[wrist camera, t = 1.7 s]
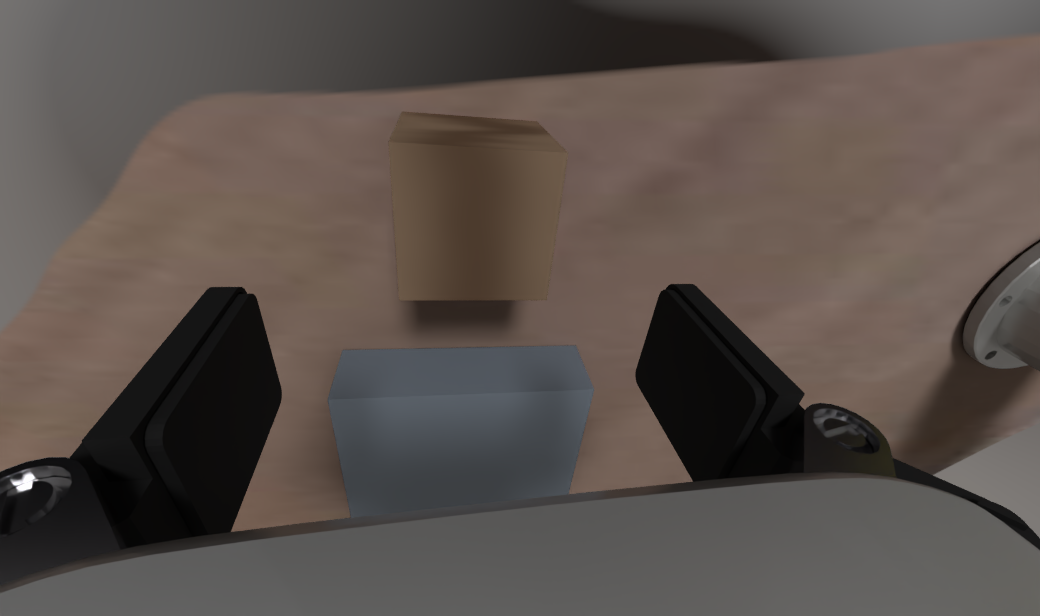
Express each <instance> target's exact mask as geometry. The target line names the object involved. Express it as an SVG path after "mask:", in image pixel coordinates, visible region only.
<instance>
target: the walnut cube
mask: <svg viewBox="0 0 1040 616" xmlns="http://www.w3.org/2000/svg"><path fill="white" fill-rule="evenodd" d="M389 157H390V172H391V187H392V202H393V216H394V231H395V246H396V261H397V276H398V291H399V300H547V295H548V288H549V281H550V274H551V267H552V260H553V254H554V247H555V240H556V233H557V226H558V219H559V212H560V205H561V199H562V192H563V185H564V178H565V171H566V164H567V157H568V152H567V151H566V150H565V149H564V148H563V147H562V146H561V145H560V144H559V143H558V142H557V141H556V140H555V139H554V138H553V137H552V136H551V135H550V134H549V133H548V132H547V131H546V130H545V129H544V128H543V127H542V126H541V125H540V124H539V123H538V122H537V121H523V120H509V119H496V118H482V117H468V116H454V115H441V114H427V113H413V112H402V113H401V116H400V118H399V120H398V122H397V124H396V127H395V129H394V131H393V133H392V135H391V138H390V140H389Z"/></svg>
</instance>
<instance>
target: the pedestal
mask: <svg viewBox="0 0 1040 616" xmlns="http://www.w3.org/2000/svg"><path fill="white" fill-rule="evenodd" d="M593 392H594V388H593V386H592V383H591V381H590V378H589V376H588V374H587V371H586V369H585V366H584V364H583V362H582V359H581V357H580V355H579V352H578V350H577V347H576V346H527V347H477V348H427V349H376V350H343V351H342V354H341V357H340V361H339V364H338V367H337V371H336V374H335V377H334V380H333V384H332V387H331V390H330V394H329V397H328V404H329V409H330V414H331V419H332V424H333V429H334V434H335V439H336V444H337V449H338V454H339V459H340V464H341V469H342V475H343V480H344V485H345V490H346V495H347V500H348V505H349V510H350V515H351V518H354V517H363V516H372V515H381V514H390V513H399V512H408V511H417V510H426V509H435V508H444V507H453V506H463V505H472V504H482V503H491V502H500V501H510V500H519V499H529V498H538V497H548V496H557V495H567V494H568V493H569V489H570V485H571V481H572V477H573V473H574V469H575V465H576V461H577V457H578V453H579V449H580V445H581V441H582V437H583V432H584V428H585V424H586V420H587V416H588V412H589V408H590V404H591V400H592V396H593Z"/></svg>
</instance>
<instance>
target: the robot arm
mask: <svg viewBox="0 0 1040 616" xmlns="http://www.w3.org/2000/svg"><path fill="white" fill-rule="evenodd" d="M963 346H964V348H965V350H966V352H967V354H968V355H970V356H971V357H972V358H973V359H975V360H977V361H978V362H980V363H982V364H984V365H985V366H987V367H991V368H996V369H1009V368H1017V367H1022V366H1027V365H1029V366H1031V367H1033V368H1035V369H1036V370H1038V371H1040V242H1039V243H1037V244H1036V245H1035V246H1033V247H1032V248H1030V249H1029V250H1028V251H1026V252H1025V253H1023V254H1022V255H1021V256H1020V257H1019V258H1017V259H1016V260H1015V261H1014V262H1013V263H1011V264H1010V265H1009V266H1008V267H1007V268H1006V269H1005V270H1004V271H1003V272H1002V273H1001V274H1000V275H999V276H998V277H997V278H996V279H995V280H994V281H993V282H992V283H991V284H990V285H989V286H988V288H987V289H986V290H985V291H984V293H983V294H982V295H981V296H980V298H979V299H978V301H977V302H976V304H975V305H974V307H973V309H972V310H971V312H970V314H969V316H968V319H967V321H966V323H965V327H964V332H963ZM636 382H637V384H638V386H639V388H640V390H641V392H642V393H643V395H644V397H645V399H646V400H647V402H648V404H649V405H650V407H651V409H652V411H653V412H654V414H655V416H656V418H657V419H658V421H659V423H660V425H661V426H662V428H663V430H664V432H665V433H666V435H667V437H668V438H669V440H670V442H671V444H672V445H673V447H674V449H675V451H676V452H677V454H678V456H679V458H680V459H681V461H682V463H683V465H684V466H685V468H686V470H687V471H688V473H689V475H690V477H691V478H692V480H693V482H686V483H676V484H666V485H656V486H646V487H635V488H625V489H615V490H605V491H596V492H586V493H577V494H567V495H557V496H548V497H538V498H529V499H519V500H510V501H500V502H491V503H482V504H472V505H463V506H453V507H444V508H435V509H426V510H417V511H408V512H399V513H390V514H381V515H372V516H363V517H354V518H344V519H335V520H326V521H317V522H308V523H300V524H292V525H284V526H276V527H268V528H260V529H252V530H244V531H236V532H231V530H232V527H233V524H234V522H235V519H236V517H237V514H238V512H239V509H240V506H241V504H242V501H243V499H244V496H245V494H246V491H247V488H248V486H249V483H250V481H251V478H252V476H253V473H254V470H255V468H256V465H257V463H258V460H259V458H260V455H261V452H262V450H263V447H264V445H265V442H266V440H267V437H268V434H269V432H270V429H271V427H272V424H273V422H274V419H275V417H276V414H277V411H278V409H279V406H280V403H281V398H282V390H281V385H280V382H279V378H278V374H277V371H276V367H275V363H274V360H273V356H272V353H271V349H270V345H269V342H268V338H267V334H266V331H265V327H264V323H263V320H262V316H261V312H260V309H259V305H258V301H257V299H256V296H255V295H254V294H247V292H246V291H245V289H244V288H242V287H210V288H209V289H207V290H206V292H205V293H204V294H203V295H202V296H201V298H200V299H199V300H198V301H197V302H196V304H195V305H194V306H193V307H192V308H191V310H190V311H189V312H188V313H187V314H186V316H185V317H184V318H183V319H182V320H181V322H180V323H179V324H178V325H177V327H176V328H175V329H174V330H173V331H172V333H171V334H170V335H169V336H168V337H167V339H166V340H165V341H164V342H163V343H162V345H161V346H160V347H159V348H158V349H157V351H156V352H155V353H154V354H153V355H152V357H151V358H150V359H149V360H148V361H147V363H146V364H145V365H144V366H143V367H142V369H141V370H140V371H139V372H138V373H137V375H136V376H135V377H134V378H133V380H132V381H131V382H130V383H129V384H128V386H127V387H126V388H125V389H124V390H123V392H122V393H121V394H120V395H119V396H118V398H117V399H116V400H115V401H114V402H113V404H112V405H111V406H110V407H109V408H108V410H107V411H106V412H105V413H104V414H103V416H102V417H101V418H100V419H99V420H98V422H97V423H96V424H95V425H94V426H93V428H92V429H91V430H90V431H89V433H88V434H87V435H86V436H85V437H84V439H83V440H82V443H81V445H80V446H79V447H78V448H77V449H76V451H75V452H74V453H73V454H72V455H71V457H70V458H66V457H48V458H43V459H38V460H33V461H28V462H25V463H22V464H19V465H17V466H14V467H11V468H8V469H5V470H3V471H1V472H0V616H1040V538H1039V537H1038V536H1037V535H1036V534H1035V533H1034V531H1033V530H1032V529H1030V528H1029V526H1028V525H1027V524H1026V523H1025V522H1024V521H1023V520H1022V519H1021V518H1020V517H1018V516H1017V515H1016V514H1015V513H1013V512H1012V511H1010V510H1008V509H1007V508H1005V507H1003V506H1001V505H999V504H996V503H994V502H991V501H989V500H987V499H985V498H983V497H980V496H978V495H976V494H973V493H971V492H969V491H967V490H964V489H962V488H960V487H957V486H955V485H953V484H951V483H948V482H946V481H944V480H942V479H939V478H937V477H935V476H933V475H930V474H928V473H926V472H923V471H921V470H919V469H917V468H914V467H912V466H910V465H908V464H905V463H903V462H901V461H898V460H896V459H894V458H892V454H891V450H890V446H889V444H888V442H887V439H886V438H885V437H884V435H883V434H882V433H881V432H880V431H879V429H877V428H876V427H875V426H874V425H873V424H871V423H870V422H869V421H868V420H866V419H864V418H863V417H861V416H859V415H858V414H856V413H854V412H852V411H850V410H847V409H845V408H843V407H839V406H836V405H832V404H825V403H817V404H812V405H810V406H809V407H807V408H806V409H805V410H804V409H803V408H802V407H801V406H800V405H799V403H800V401H801V399H802V398H803V396H804V394H805V393H804V392H803V391H802V390H801V389H800V388H799V387H798V386H797V385H796V384H795V383H794V382H793V381H792V380H790V379H789V378H788V377H787V376H786V375H785V374H784V373H783V372H782V371H781V370H780V369H779V368H778V367H777V366H776V365H775V364H774V363H773V362H772V361H771V360H770V359H769V358H768V357H767V356H766V355H765V354H764V353H763V352H762V351H761V350H760V349H759V348H758V347H757V346H756V345H755V344H754V343H753V342H752V341H751V340H750V339H749V338H748V337H747V336H746V335H745V334H744V333H743V332H742V331H741V330H740V329H739V328H738V327H737V326H736V325H735V324H734V323H733V322H732V321H731V320H730V319H729V318H728V317H727V316H726V315H725V314H724V313H723V312H722V311H721V310H720V309H719V308H718V307H717V306H716V305H715V304H714V303H713V302H712V301H711V300H710V299H708V298H707V297H706V296H705V295H704V294H703V293H702V292H701V291H700V290H699V289H698V288H697V287H696V286H695V285H693V284H671V285H669V286H668V287H667V288H666V290H663V291H661V293H660V295H659V297H658V301H657V304H656V307H655V310H654V314H653V317H652V320H651V323H650V327H649V330H648V333H647V336H646V340H645V343H644V346H643V349H642V352H641V356H640V359H639V362H638V365H637V369H636Z"/></svg>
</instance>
